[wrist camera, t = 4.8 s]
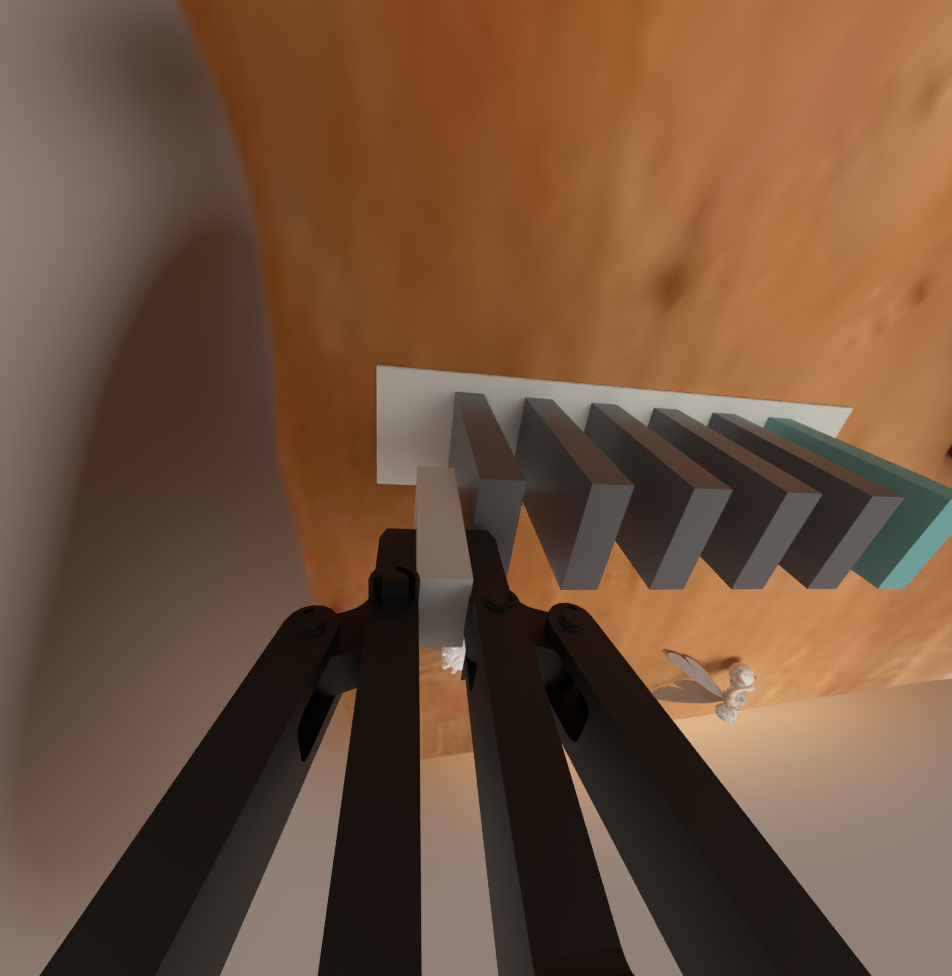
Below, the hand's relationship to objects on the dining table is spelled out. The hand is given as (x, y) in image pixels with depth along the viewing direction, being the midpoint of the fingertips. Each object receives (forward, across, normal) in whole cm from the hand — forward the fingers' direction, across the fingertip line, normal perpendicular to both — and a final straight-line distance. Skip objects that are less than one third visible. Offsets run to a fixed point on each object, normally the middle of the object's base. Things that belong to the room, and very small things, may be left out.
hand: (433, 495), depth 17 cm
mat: (+7, +12, 0) cm, 14 cm away
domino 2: (+7, +6, 0) cm, 9 cm away
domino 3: (+7, +10, 0) cm, 12 cm away
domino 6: (+7, +22, 0) cm, 23 cm away
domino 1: (+7, +2, 0) cm, 7 cm away
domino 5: (+7, +18, 0) cm, 19 cm away
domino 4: (+7, +14, 0) cm, 16 cm away
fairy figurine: (+9, +31, -22) cm, 39 cm away
